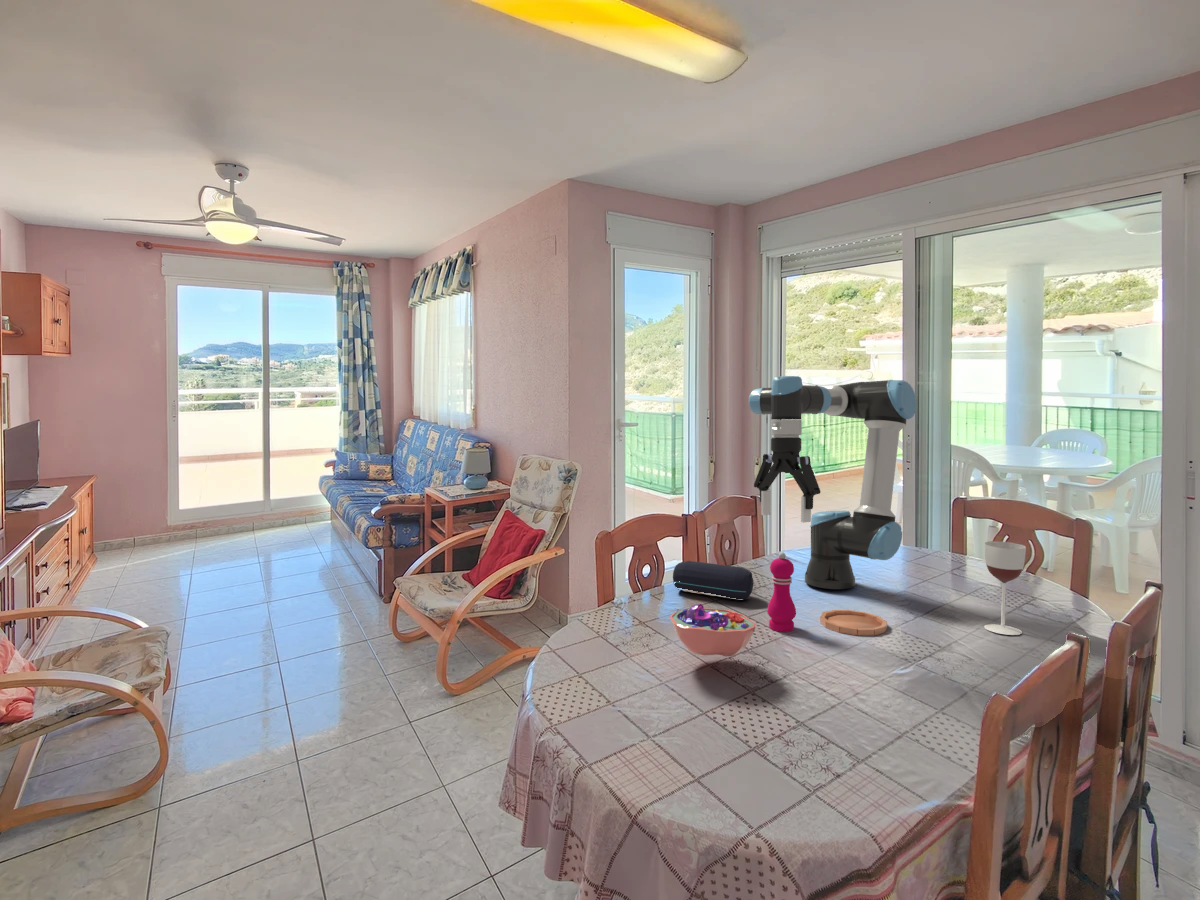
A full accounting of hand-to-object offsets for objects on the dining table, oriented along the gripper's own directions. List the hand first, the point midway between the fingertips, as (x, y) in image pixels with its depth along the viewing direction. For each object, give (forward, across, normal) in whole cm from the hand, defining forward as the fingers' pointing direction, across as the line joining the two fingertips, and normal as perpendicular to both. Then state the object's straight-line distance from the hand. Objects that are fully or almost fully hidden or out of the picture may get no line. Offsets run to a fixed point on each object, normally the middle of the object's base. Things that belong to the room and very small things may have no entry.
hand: (785, 518), depth 160 cm
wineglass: (+29, +30, +47) cm, 63 cm away
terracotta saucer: (+29, +8, +18) cm, 35 cm away
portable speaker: (+29, -32, +4) cm, 44 cm away
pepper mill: (+29, 0, 0) cm, 29 cm away
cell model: (+29, +4, -28) cm, 40 cm away
